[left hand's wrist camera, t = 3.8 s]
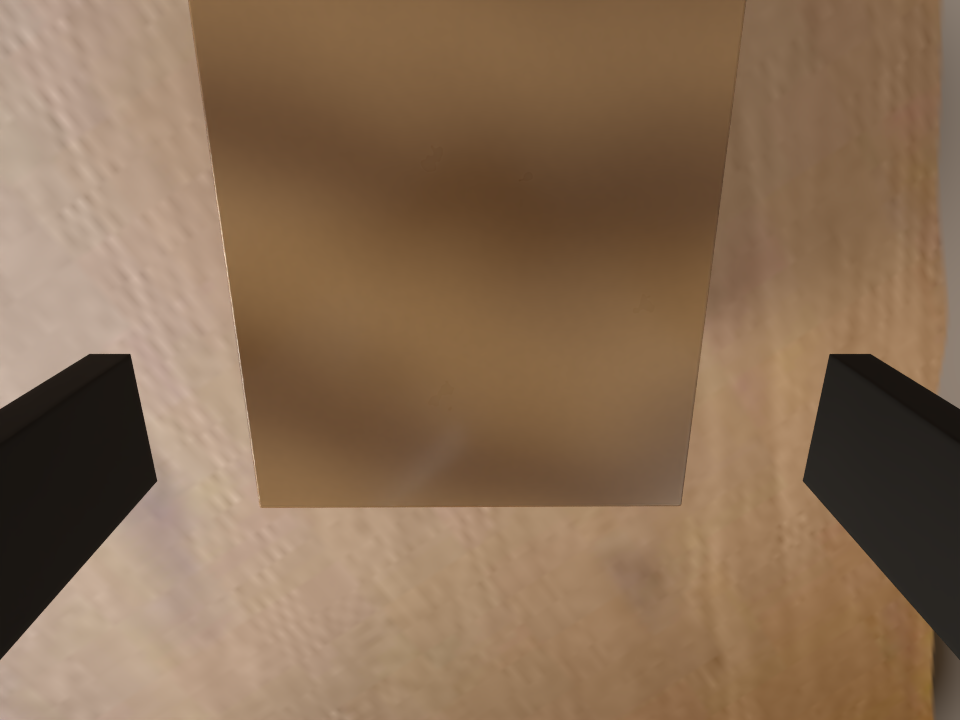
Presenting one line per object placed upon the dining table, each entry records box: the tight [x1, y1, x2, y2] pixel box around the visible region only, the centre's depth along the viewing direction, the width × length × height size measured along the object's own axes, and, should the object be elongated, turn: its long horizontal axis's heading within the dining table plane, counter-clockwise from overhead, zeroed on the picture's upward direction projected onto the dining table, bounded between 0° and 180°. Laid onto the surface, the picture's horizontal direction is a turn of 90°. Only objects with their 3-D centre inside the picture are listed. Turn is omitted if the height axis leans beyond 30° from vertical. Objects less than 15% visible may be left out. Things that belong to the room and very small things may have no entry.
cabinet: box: [188, 0, 746, 508], centre depth 19 cm, size 17×11×11 cm, turn 0°
